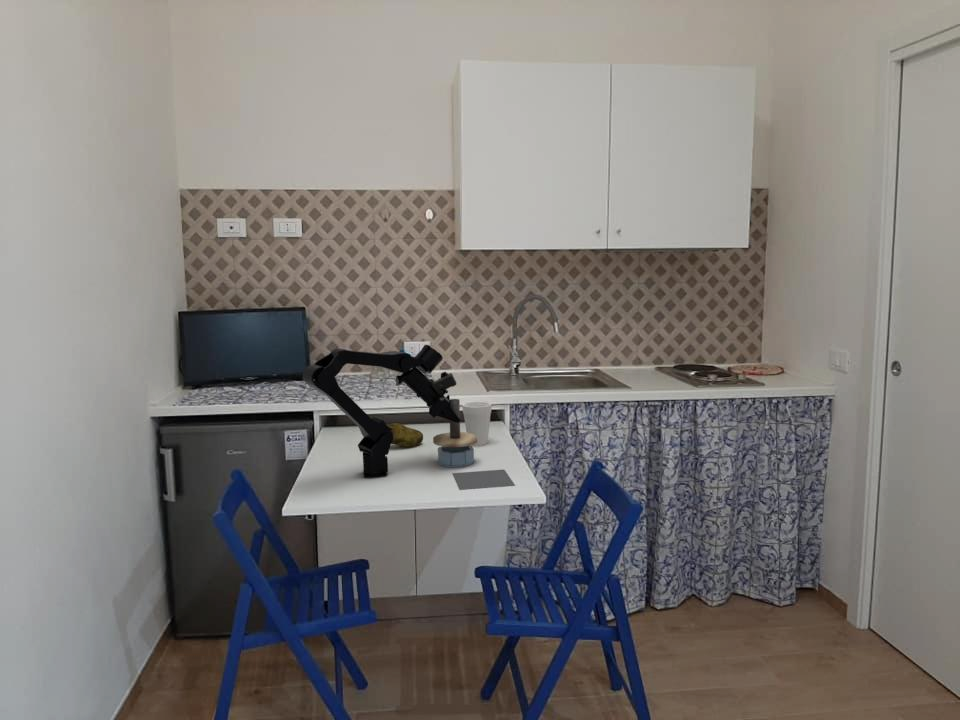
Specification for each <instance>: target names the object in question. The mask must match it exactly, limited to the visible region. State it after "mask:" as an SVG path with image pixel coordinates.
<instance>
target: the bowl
mask: <svg viewBox="0 0 960 720" xmlns="http://www.w3.org/2000/svg"><path fill="white" fill-rule="evenodd" d="M474 451H475V450H474V446H472V445H469V446H464V447H443V446H439V447H438V448H437V460H438V463H439V465H440V466H441V467H445V468H462V467H463V468H464V467H467V466H471V465H472V464H473V462H474V461H475V453H474Z"/></svg>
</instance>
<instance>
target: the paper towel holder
mask: <svg viewBox="0 0 960 720" xmlns="http://www.w3.org/2000/svg"><path fill="white" fill-rule="evenodd" d="M460 404H461V403H460V398H450V407H451V408H452V409H453V411H454V412H455V413H456V415H457V416H458V417H459V419H460V420H461V415H460V413H461V411H460V409H461V407H460V406H461V405H460ZM432 443H433V445H435V446H439V447H442V446H443V447H464V446H469V445H471V446H472V445H473V444H475V443H477V436H476V435H474V434H471V433H467V432H463V431H461V421H460V422H459V423H456V422H454V421H451V420H449V432H445V433H444V432H443V433H438V434H436V435H434V436H433V438H432Z"/></svg>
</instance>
